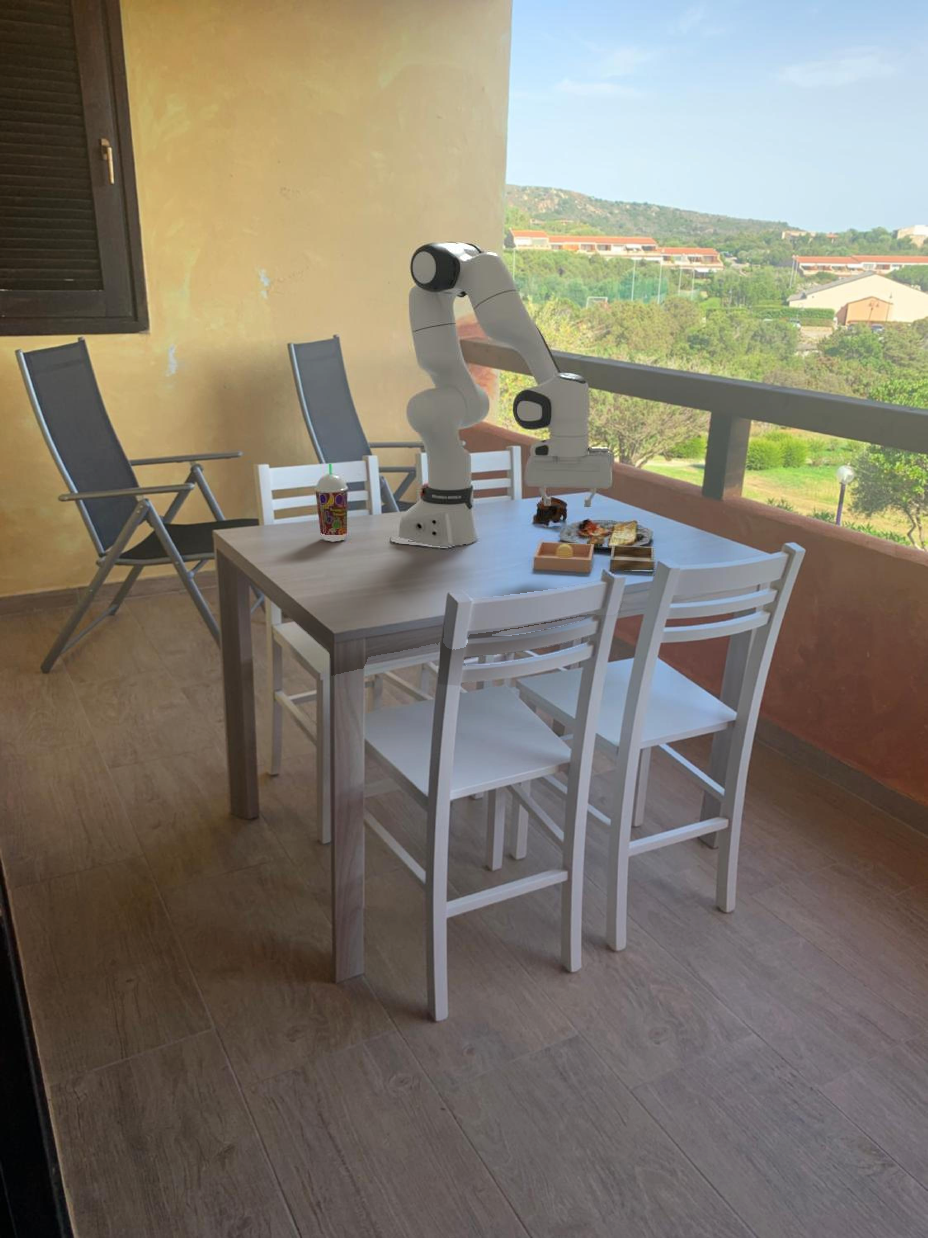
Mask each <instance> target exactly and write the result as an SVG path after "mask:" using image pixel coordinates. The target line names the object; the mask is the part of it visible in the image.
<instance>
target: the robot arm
mask: <svg viewBox="0 0 928 1238" xmlns="http://www.w3.org/2000/svg"><path fill="white" fill-rule="evenodd" d="M409 267H410V269H409V270H410V275H411V278H412V280H413V282H414V284H415V285H414V286H413V287H412V288H411V289H410V291H409V293H408V315H409V316H408V317H409V322H410V324H409V325H410V331H411V336H412V340H413V341H412V342H413V347H414V351H415V356H416V357H415V358H416V361H417V364H418V366H419V368H420V369H422V370H423V371H424V372H425V373H427V375H428V376H429V377H430V379H431V380H432V382H433V385H434V387H432V388H427V389H425V390H422V391H420V392H418V393H416V394H415V395H413V396H412V397H411V398H410V399H409V400H408V402H407V405H406V412H405V413H406V419H407V422H408V423H409V426H410V427H411V429H412V430H413V431H414V432H416V433H417V434H418V436H419V437H420V439H421V441H422V444H423V447H424V450H425V453H426V454H425V455H426V462H427V463H426V465H427V482H424V484H423V485H421V488H420V491H419V496H420V500H419V501H417V502H416V503H414V504H413V505H412V506H411V507H409V509H407V510H405V512H404V513H403V514H402V516H401V518H400V521H399V528H398V529H399V535H398V537H400V538H404V539H410V540H412V541H410V540H408V542H416V543H422V544H428V545H432V546H440V547H449V546H453V545H460V546H463V545H462V544H466V545H470V544H473V543H475V542H476V541H477V540H478V535H477V531H476V528H475V522H474V515H473V514H474V513H473V506H474V486H473V484H472V456H471V453H470V452H469V451H468V450H467V449H466V448H464V447H463V444H462V443H461V438H460V433H459V432H460V430H464V429H468V428H471V427H474V426H475V425H478V424H479V423H480V422H482V421H484V419H486V418H487V416H488V414H489V412H490V407H491V405H490V403H491V402H490V398H489V396H488V394H487V392H486V391H485V389H484V388H483V387H481V386H480V385H479V384H478V383H477V382H476V380H475V379H474V377H473V375H472V374H471V372H470V370H469V368H468V365H467V364H466V361H465V358H464V355H463V351H462V347H461V343H460V338H459V332H458V327H457V321H456V315H455V312H454V303H455V299H456V298H464V297H466V296H467V298H469V301H470V303H471V304H470V305H471V308H472V309H473V313H474V315H475V317H476V320H477V322H478V324H479V326H480V328H481V330H482V332H483V333H484V334H485V335H486V337H488V338H489V339H490V340H492V341H493V342H497V343H499V344H502V345H505V346H507V347H509V348H512V349H513V350H514V351H516V352H517V353H518V354H520V356H521V357H523V359H524V361H525V362H526V364H527V367H528V369H529V371H530V372H531V374H532V377H533V379H534V381H535V383H536V385H534V386H531V387H528V388H526V389H524V390H521V391H520V392H518V393H517V394H516V396H515V397H514V400H513V403H512V413H513V417H514V420H515V421H516V423H517V425H519V426H520V427H521V428H522V429H525V430H529V431H530V430H531V431H536V430H541V429H542V430H543V429H548V430H549V438H547V439H543V440H539V441H537V442H534V443H533V444H532V445H530V448H529V451H530V456H529V457H528V459H527V461H526V463H525V469H524V479H523V480H524V484H525V485H526V487H530V488H531V487H534V488H537V487H538V488H539V489H538V490H539V493H540V495H541V498H542V497H543V499H544V506H550V505H551V497H552V496H549V497H547V496H548V495H547V494H546V491H547V488H567V489H569V488H573V489H576V488H577V489H589V493H590V494H589V496H588V497H585V498H584V508H591V507H592V499H594V497H595V495H596V494H597V489H605V490H606V489H610V487H612V484H613V472H612V471H613V469H612V467H613V466H614V464H615V453H614V451H613V450H612V449H610V448H608V447H603V446H602V447H596V446H589V438H590V437H589V434H590V431H589V428H588V427H589V426H588V421H589V416H590V408H591V407H590V400H591V399H590V388H589V384H588V380H586V378H584V377H583V376H582V375H580V374H576V373H571V372H570V373H568V372H561V370H560V368H559V366H558V363H557V361H556V360H555V358H554V355H553V354H552V351H551V349H550V347H549V345H548V343H547V342H546V339H545V337H544V335H543V333H542V332H541V330H540V329H539V327H538V326H537V324H536V323H535V322H534V320H533V318H532V317H531V316H530V314H529V312H528V310H527V308H526V306H525V304H524V302H523V300H522V297H521V295H520V293H519V290H518V288H517V285H516V283H515V281H514V278H513V276H512V274H511V272H510V271H509V269H508V267H507V266H506V264H505V262H504V260H503V259H502V257H501V256H499V254H497V253H496V252H490V251H489V252H488V251H486V252H485V251H484V250H483V249H482V248H481V247H480V246H477V245H476V244H473V243H467V242H466V243H463V242H458V241H447V242H439V243H438V242H431V243H430V242H429V243H425V244H424V245H421V246H420V247H418V248H417V249H416V250H415V251H414V253H413V254H412V256H411V259H410V265H409ZM472 542H473V543H472Z"/></svg>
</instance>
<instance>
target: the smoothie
mask: <svg viewBox="0 0 928 1238" xmlns="http://www.w3.org/2000/svg"><path fill="white" fill-rule="evenodd" d="M328 471H329V472H328V474H324V475H323V476H321V477H320V479H319V480H318V481H317V484H316V486H315V487H314V490H315V498H316V499H315V500H316V506H317V516H318V523H319V531H320V534H321V533H322V534H325V535H343V534H346V533H347V534H348V494H349V493H348V489H349V487H348V486H347V483H346V482H345V480H344V478H342V477H341V476H339V475H338V474H335V473H333V470H332V463H331V462H330V463H328Z"/></svg>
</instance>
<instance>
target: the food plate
mask: <svg viewBox="0 0 928 1238" xmlns="http://www.w3.org/2000/svg"><path fill="white" fill-rule="evenodd" d="M653 534H654V532H653V530H651V529H649V528H648V527H644V526H642V525H641V524H638V521H637V520H631V521H630V520H629V521H616V520H612V519H611V520H610V519H609V520H608V519H598V520H597V519H595V520H591V519H590V518H586V519H583V520H581V521H577V522H572V523H570V524H567V525H564V527H563V528H562V529H561V531H559V533H558V535H557V537H558V538H560V539H561V540H562V541H563V542H566V543H579V544H582V543H585V544H594V549H602V550H603V549H604V550H610V549H611V550H612V545H620V546H642V545H646V544H649V542H650V541H651V540H652V536H653ZM579 540H580V541H579ZM605 544H606V546H603V545H605Z"/></svg>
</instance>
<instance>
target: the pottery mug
mask: <svg viewBox="0 0 928 1238" xmlns="http://www.w3.org/2000/svg"><path fill="white" fill-rule="evenodd" d="M547 497H551V505H550V506H544V499H543V497H542V496H541V500H540V501H538V502H537V503H536V506H535V507H537V508H536V513H535V514H534V515H533V517H532V523H533V524H538V525H539V524H540V525H543V526H547V527H549V525H550V522H552V523H553V524H559V522H560V521H561V518H562V521H566V520H567V517H568V512H567V511H568V509H567V507H568V504H567V502H566V501H564V500H562V499H561V498H556V497H554V496H548V495H547Z"/></svg>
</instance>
